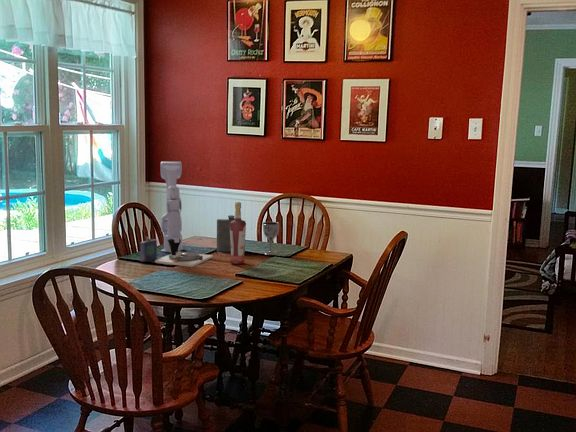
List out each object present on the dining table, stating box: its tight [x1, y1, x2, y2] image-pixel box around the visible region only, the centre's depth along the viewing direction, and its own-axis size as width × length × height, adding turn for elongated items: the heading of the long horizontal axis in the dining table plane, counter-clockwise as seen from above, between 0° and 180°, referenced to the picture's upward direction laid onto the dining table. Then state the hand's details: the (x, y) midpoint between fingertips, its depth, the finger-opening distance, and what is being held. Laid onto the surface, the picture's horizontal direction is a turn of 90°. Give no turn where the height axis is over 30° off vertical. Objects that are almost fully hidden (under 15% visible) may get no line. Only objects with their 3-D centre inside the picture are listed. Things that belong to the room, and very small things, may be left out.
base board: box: [154, 253, 214, 268], centre depth 281 cm, size 20×19×3 cm
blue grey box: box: [139, 236, 158, 263], centre depth 279 cm, size 9×3×11 cm, turn 146°
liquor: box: [229, 201, 247, 266], centre depth 275 cm, size 7×7×28 cm
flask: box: [216, 214, 246, 254], centre depth 299 cm, size 4×14×18 cm, turn 79°
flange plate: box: [168, 250, 200, 262], centre depth 280 cm, size 16×14×4 cm
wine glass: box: [262, 221, 280, 256], centre depth 298 cm, size 8×8×15 cm
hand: (174, 255), depth 277 cm, fingers closed
